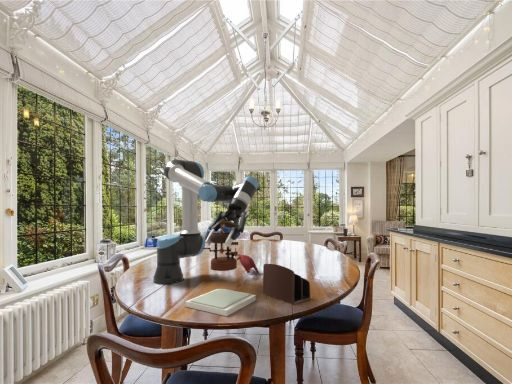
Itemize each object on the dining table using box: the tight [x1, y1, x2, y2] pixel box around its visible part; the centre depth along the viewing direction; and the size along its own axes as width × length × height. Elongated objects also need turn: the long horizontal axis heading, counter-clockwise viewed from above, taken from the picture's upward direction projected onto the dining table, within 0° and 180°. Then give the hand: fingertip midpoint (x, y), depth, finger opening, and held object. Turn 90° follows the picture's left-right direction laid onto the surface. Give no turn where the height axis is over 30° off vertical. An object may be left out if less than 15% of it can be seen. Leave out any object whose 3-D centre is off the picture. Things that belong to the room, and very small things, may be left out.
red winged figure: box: [236, 254, 260, 274], centre depth 171 cm, size 28×9×15 cm
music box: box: [203, 219, 239, 272], centre depth 119 cm, size 15×11×20 cm
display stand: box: [184, 288, 257, 317], centre depth 119 cm, size 20×20×2 cm
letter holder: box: [262, 263, 311, 306], centre depth 128 cm, size 10×20×14 cm, turn 37°
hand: (217, 244), depth 117 cm, fingers open, 9 cm apart
